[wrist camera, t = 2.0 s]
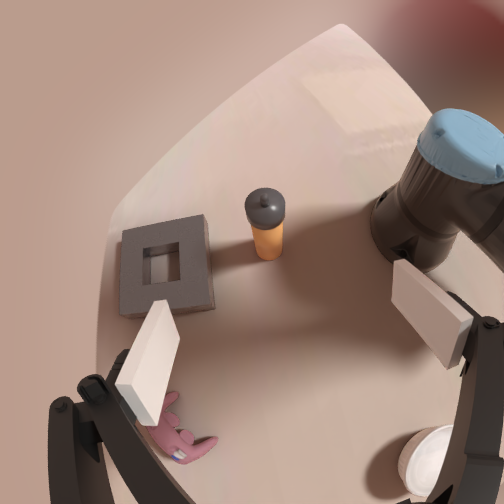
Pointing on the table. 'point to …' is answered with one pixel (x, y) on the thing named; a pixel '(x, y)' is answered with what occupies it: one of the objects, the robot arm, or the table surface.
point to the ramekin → (424, 459)
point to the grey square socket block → (191, 267)
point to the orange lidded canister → (266, 221)
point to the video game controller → (177, 436)
